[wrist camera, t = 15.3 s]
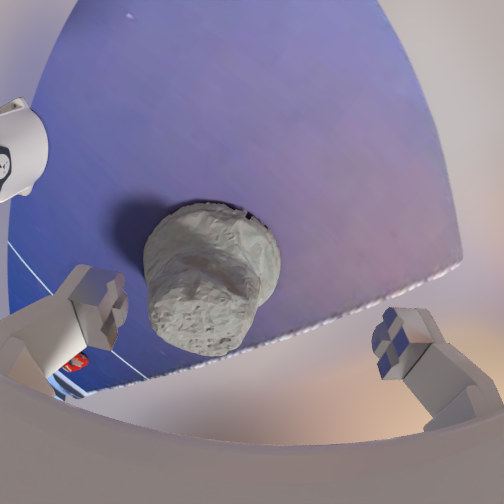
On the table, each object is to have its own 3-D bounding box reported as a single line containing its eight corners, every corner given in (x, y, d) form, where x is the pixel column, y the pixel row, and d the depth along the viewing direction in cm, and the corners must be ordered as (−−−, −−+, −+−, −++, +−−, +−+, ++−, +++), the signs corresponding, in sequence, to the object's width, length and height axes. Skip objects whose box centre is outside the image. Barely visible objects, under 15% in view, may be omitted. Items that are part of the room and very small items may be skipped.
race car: (78, 346, 66) (73, 357, 62) (92, 359, 68) (88, 369, 64) (58, 355, 69) (53, 365, 66) (71, 366, 72) (67, 376, 68)
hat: (218, 169, 41) (197, 212, 28) (308, 272, 50) (322, 338, 37) (116, 262, 50) (81, 318, 37) (202, 334, 59) (191, 395, 46)
